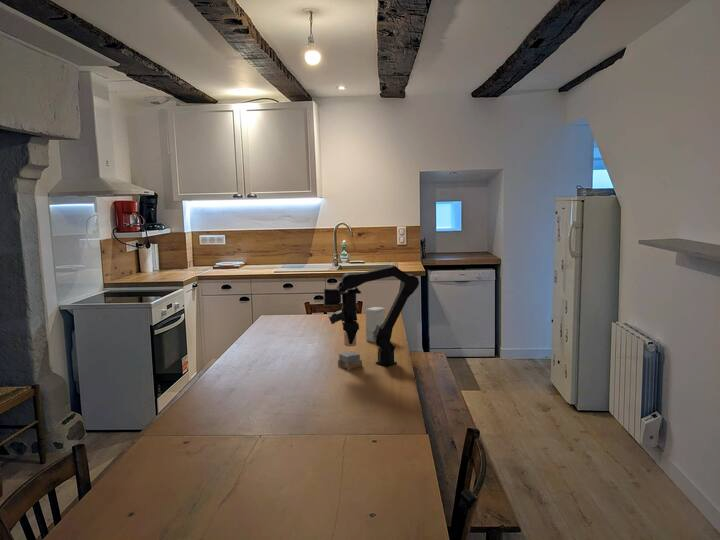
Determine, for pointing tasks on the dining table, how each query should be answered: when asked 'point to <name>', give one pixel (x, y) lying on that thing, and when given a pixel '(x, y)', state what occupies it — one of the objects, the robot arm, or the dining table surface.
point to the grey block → (349, 357)
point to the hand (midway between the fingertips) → (350, 342)
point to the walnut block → (350, 364)
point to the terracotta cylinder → (346, 341)
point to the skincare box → (373, 321)
